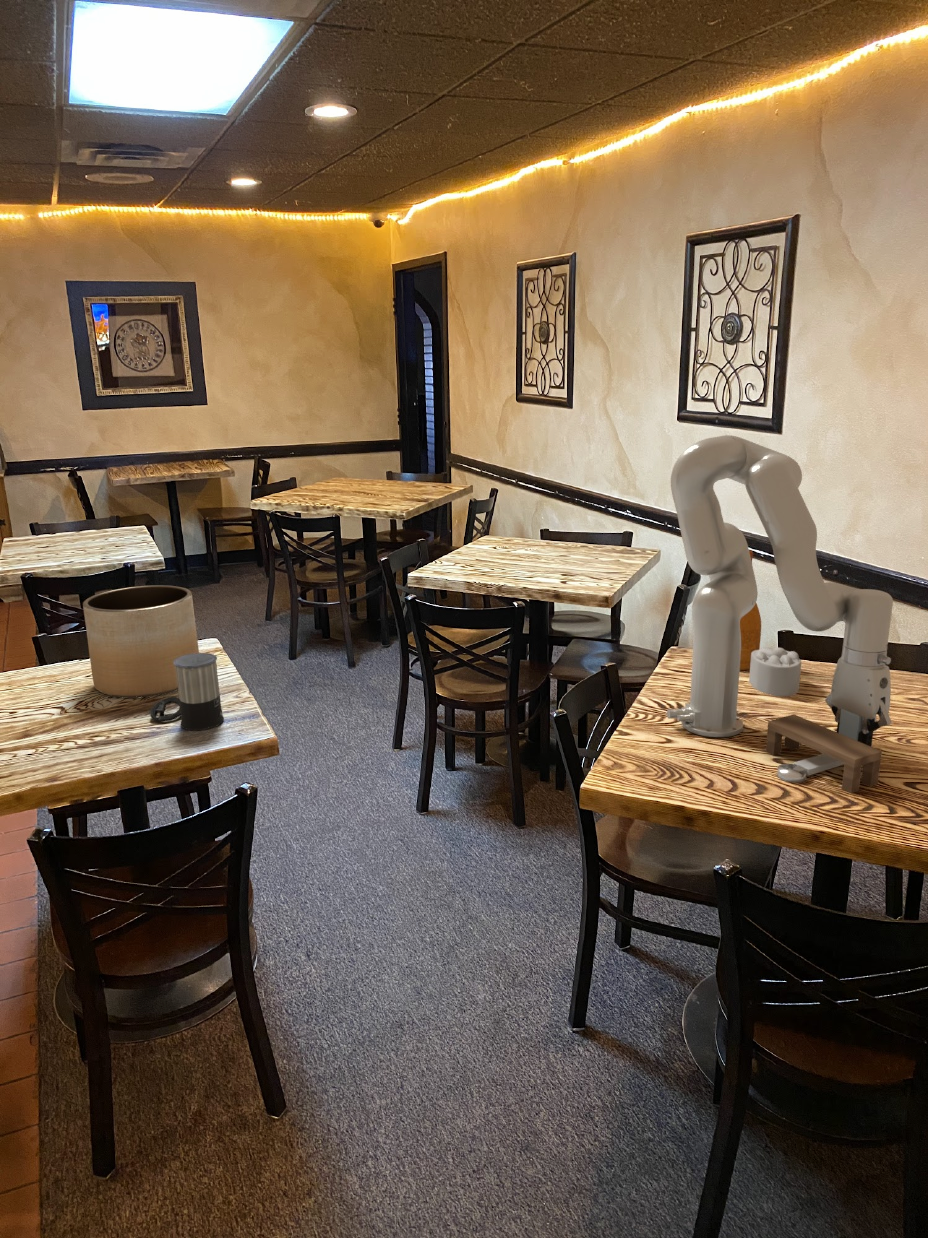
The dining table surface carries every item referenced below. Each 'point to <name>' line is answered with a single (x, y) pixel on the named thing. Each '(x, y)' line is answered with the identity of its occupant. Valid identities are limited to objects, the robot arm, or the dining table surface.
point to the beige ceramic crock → (139, 638)
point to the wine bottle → (749, 634)
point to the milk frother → (194, 693)
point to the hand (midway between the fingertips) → (853, 744)
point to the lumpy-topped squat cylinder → (775, 671)
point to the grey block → (822, 762)
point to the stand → (827, 748)
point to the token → (791, 773)
